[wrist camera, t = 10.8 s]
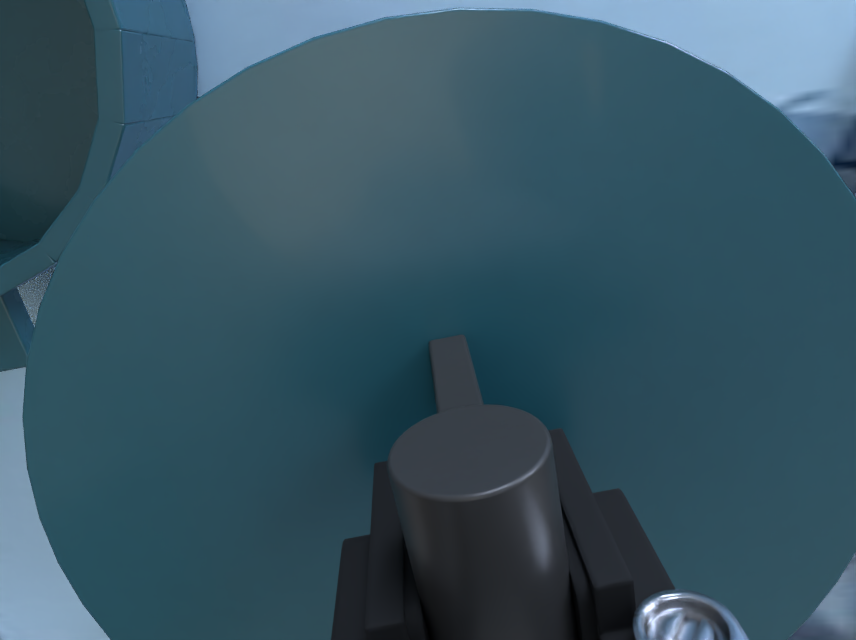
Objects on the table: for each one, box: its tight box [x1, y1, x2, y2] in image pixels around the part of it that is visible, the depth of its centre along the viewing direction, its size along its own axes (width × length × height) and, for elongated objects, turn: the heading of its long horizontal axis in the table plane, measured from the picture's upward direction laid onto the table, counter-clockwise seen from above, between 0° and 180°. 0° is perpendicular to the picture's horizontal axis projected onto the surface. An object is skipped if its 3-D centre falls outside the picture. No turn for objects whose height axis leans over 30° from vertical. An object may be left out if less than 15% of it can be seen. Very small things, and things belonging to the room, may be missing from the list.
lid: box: [23, 8, 856, 640], centre depth 11 cm, size 18×18×6 cm
